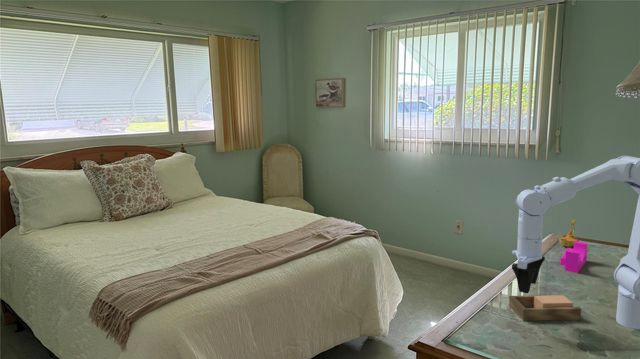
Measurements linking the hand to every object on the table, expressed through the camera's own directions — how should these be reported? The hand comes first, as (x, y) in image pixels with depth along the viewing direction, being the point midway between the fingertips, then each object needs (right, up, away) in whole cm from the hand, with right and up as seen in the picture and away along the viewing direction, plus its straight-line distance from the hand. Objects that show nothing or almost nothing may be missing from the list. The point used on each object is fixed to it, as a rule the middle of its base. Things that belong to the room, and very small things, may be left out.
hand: (527, 287), depth 116 cm
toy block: (+34, -3, +41) cm, 53 cm away
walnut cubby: (+7, -8, +5) cm, 12 cm away
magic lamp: (+42, 0, +57) cm, 71 cm away
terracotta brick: (+9, -8, +5) cm, 14 cm away
